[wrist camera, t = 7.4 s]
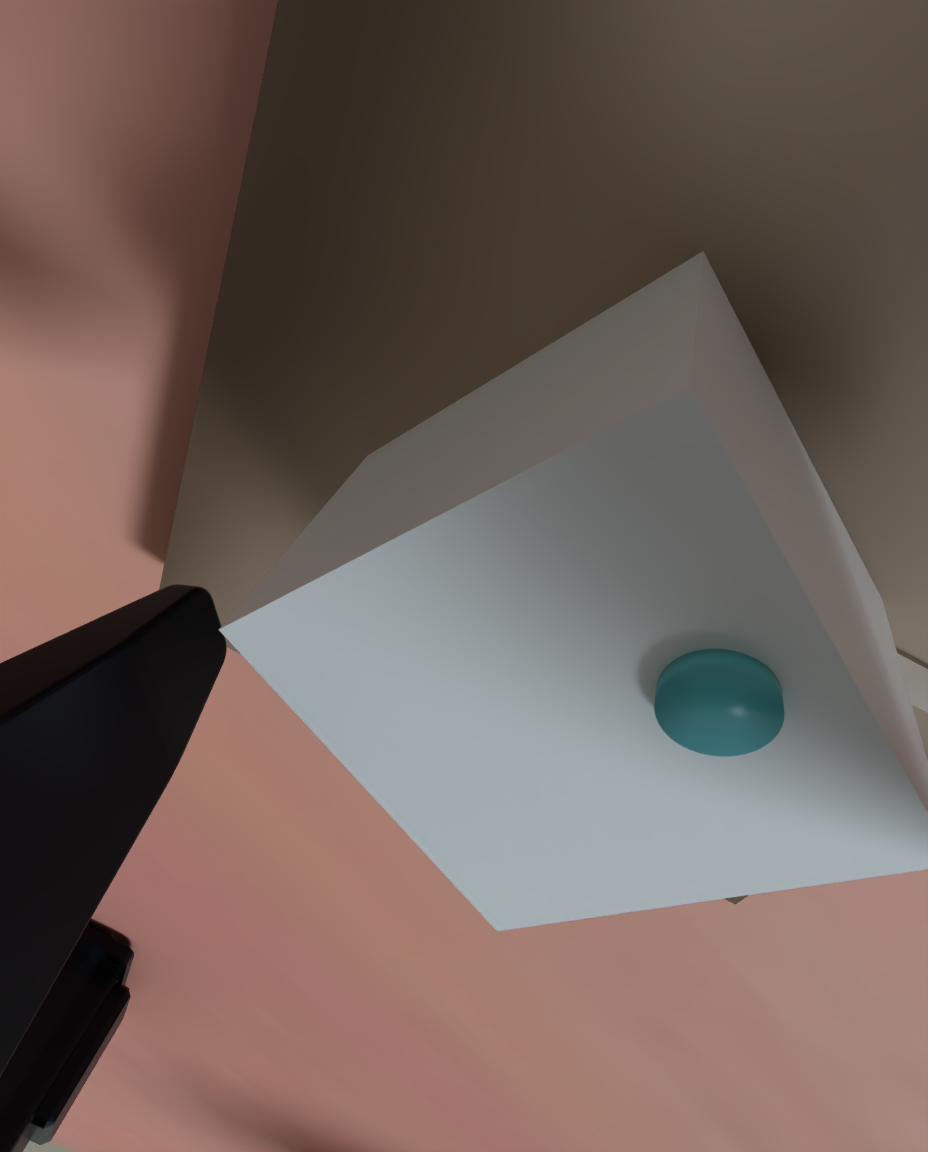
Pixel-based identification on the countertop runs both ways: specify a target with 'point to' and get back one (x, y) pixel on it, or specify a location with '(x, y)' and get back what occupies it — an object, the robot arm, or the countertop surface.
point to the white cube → (605, 633)
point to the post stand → (567, 244)
